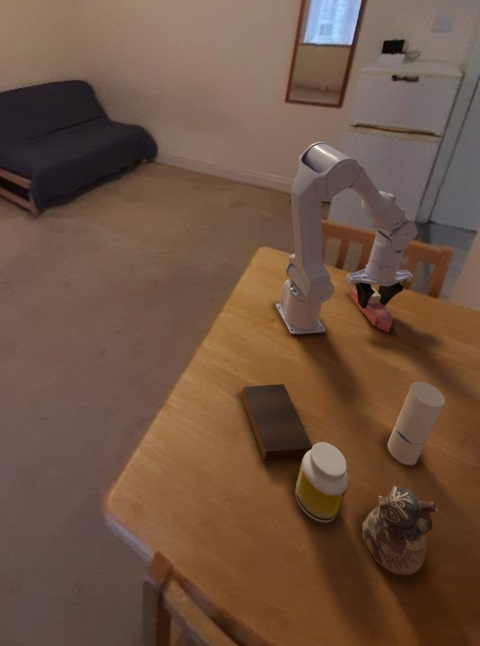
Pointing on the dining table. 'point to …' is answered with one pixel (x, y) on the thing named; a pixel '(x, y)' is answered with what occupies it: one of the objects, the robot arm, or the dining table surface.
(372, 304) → the boat
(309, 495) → the pill bottle
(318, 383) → the dining table surface
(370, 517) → the figurine
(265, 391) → the walnut block
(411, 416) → the tube
